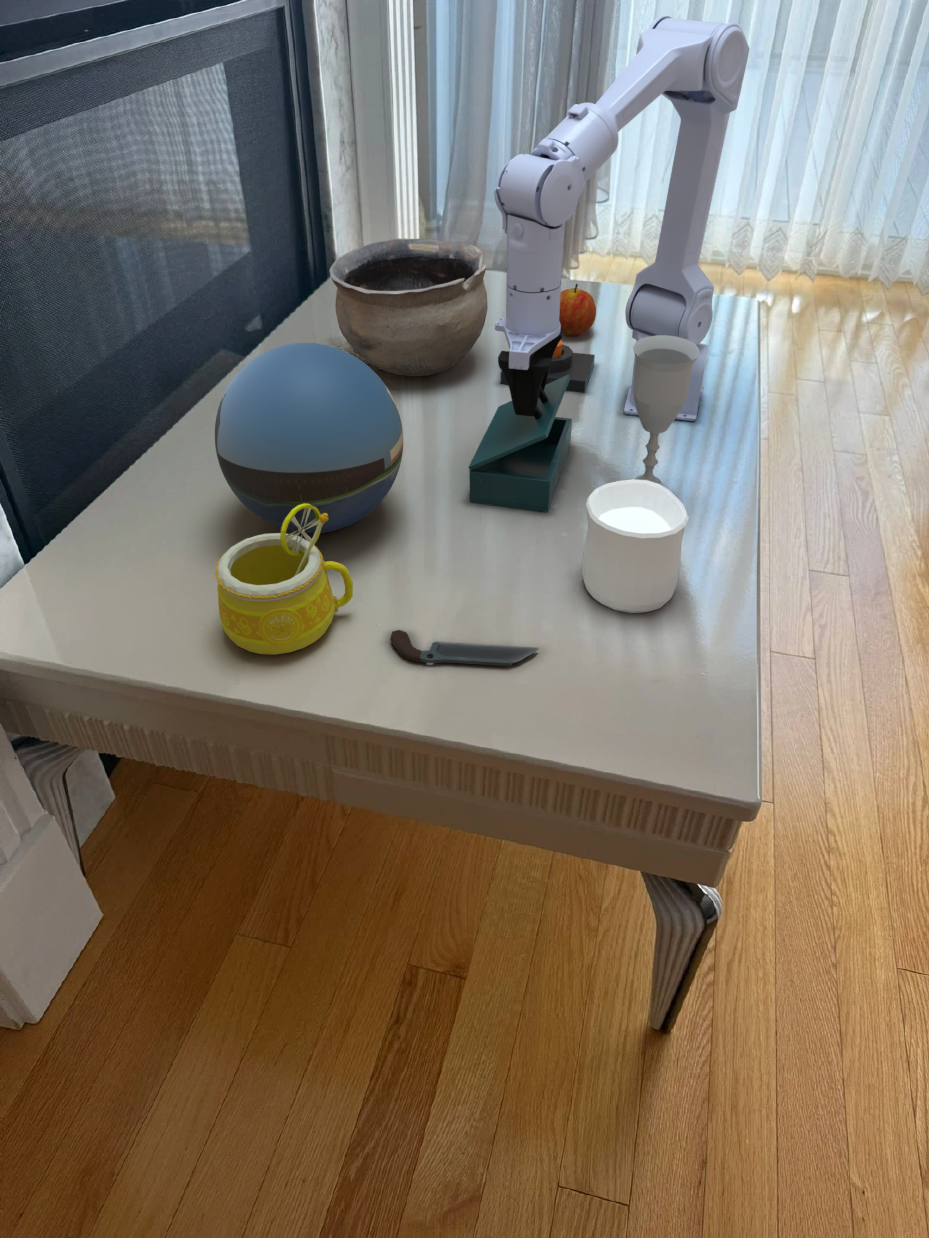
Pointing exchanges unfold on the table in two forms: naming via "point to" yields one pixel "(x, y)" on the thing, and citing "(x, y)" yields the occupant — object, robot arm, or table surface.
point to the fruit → (576, 311)
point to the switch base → (569, 369)
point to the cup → (633, 545)
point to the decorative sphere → (309, 436)
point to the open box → (524, 473)
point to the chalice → (660, 387)
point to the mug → (278, 589)
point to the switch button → (558, 350)
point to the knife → (461, 652)
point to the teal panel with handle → (520, 425)
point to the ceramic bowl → (411, 303)
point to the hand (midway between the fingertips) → (529, 403)
